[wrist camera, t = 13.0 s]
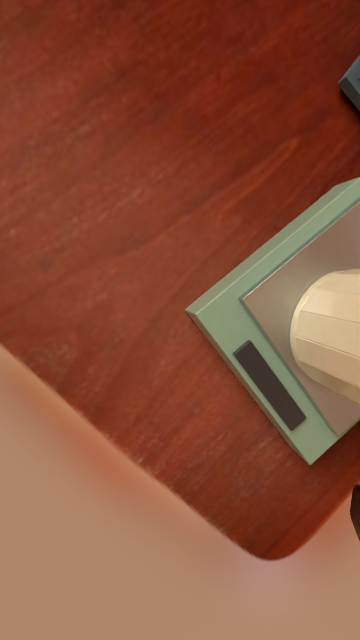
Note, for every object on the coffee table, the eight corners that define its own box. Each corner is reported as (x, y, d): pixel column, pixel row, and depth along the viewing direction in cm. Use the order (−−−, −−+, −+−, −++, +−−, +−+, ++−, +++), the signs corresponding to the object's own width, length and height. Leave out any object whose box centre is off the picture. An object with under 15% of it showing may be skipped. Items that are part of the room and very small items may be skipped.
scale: (290, 447, 23) (316, 471, 20) (184, 309, 20) (198, 315, 17) (417, 333, 24) (457, 341, 21) (335, 184, 21) (371, 172, 18)
